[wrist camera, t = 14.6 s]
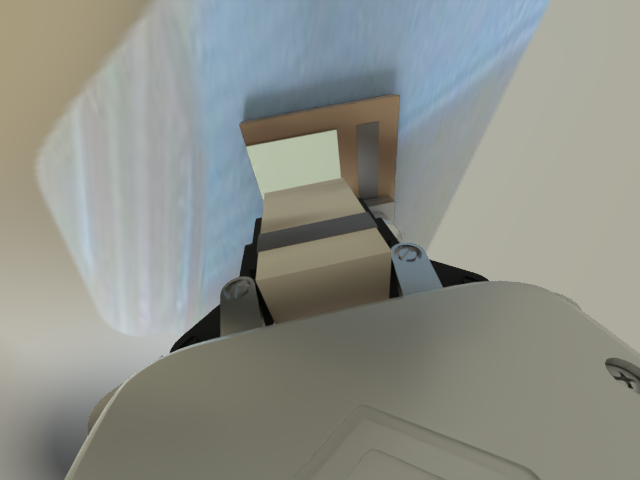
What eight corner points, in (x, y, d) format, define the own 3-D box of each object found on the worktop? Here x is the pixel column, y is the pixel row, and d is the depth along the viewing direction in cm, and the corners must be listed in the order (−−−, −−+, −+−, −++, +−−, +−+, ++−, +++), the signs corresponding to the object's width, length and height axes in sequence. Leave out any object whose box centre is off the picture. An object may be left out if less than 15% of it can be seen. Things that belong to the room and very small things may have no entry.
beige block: (350, 253, 14) (387, 341, 10) (287, 266, 14) (292, 363, 9) (344, 176, 11) (393, 249, 7) (263, 192, 11) (253, 279, 6)
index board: (384, 272, 30) (389, 281, 29) (295, 292, 29) (295, 302, 28) (391, 94, 18) (400, 95, 17) (241, 121, 18) (239, 124, 16)
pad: (343, 208, 22) (343, 209, 21) (270, 223, 21) (270, 224, 21) (336, 129, 17) (336, 129, 17) (246, 146, 17) (245, 146, 17)
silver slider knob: (387, 230, 23) (405, 255, 20) (353, 237, 23) (366, 263, 20) (388, 195, 21) (409, 216, 18) (351, 202, 21) (365, 225, 18)
